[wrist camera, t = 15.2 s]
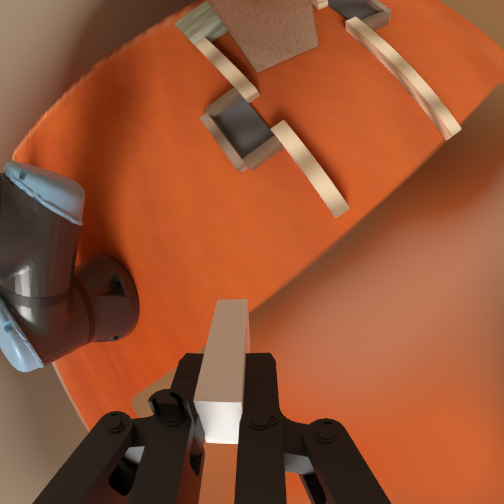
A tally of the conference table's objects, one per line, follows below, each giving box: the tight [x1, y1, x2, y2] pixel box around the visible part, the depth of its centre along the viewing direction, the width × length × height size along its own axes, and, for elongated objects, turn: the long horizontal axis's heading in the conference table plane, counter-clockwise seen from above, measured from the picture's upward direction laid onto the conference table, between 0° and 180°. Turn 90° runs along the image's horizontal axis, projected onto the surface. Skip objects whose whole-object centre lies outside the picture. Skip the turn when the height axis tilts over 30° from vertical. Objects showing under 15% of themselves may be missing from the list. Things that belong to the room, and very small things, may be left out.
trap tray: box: [174, 0, 462, 218], centre depth 27 cm, size 35×33×7 cm
